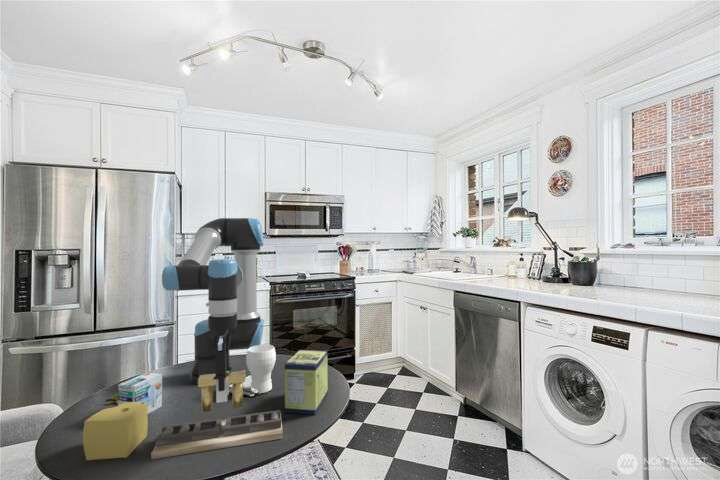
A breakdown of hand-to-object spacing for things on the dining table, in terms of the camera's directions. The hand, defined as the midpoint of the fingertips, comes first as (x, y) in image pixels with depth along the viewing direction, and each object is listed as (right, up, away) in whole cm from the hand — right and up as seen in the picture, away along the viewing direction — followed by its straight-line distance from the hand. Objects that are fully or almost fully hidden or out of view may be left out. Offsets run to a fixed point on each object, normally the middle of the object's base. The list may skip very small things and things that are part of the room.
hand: (222, 398), depth 94 cm
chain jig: (0, -11, 0) cm, 11 cm away
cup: (+2, -11, +31) cm, 33 cm away
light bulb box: (-32, -11, +14) cm, 37 cm away
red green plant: (-44, -12, +24) cm, 52 cm away
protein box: (+21, -11, +20) cm, 31 cm away
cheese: (-26, -11, -5) cm, 28 cm away
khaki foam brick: (0, -3, 0) cm, 3 cm away
